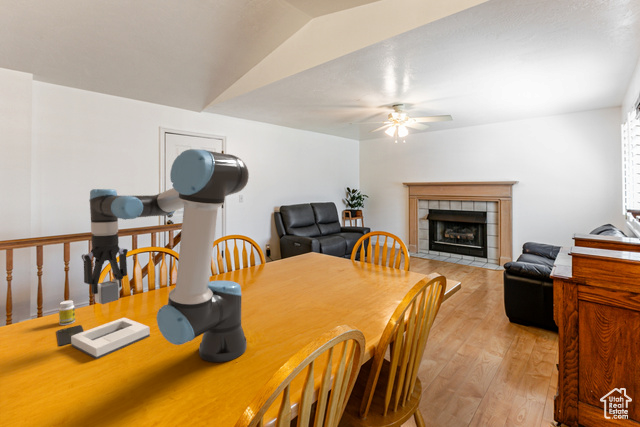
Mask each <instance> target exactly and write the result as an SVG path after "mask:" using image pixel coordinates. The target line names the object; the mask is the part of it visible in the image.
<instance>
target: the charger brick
mask: <svg viewBox="0 0 640 427" xmlns="http://www.w3.org/2000/svg"><path fill="white" fill-rule="evenodd" d="M98 283H99V284H101V303H100V304H101V305H106V304H109V303H112V302H116V301H118V300H119V298H118V283H116V282H113V281H112V280H108V281H104V282H98Z"/></svg>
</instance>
